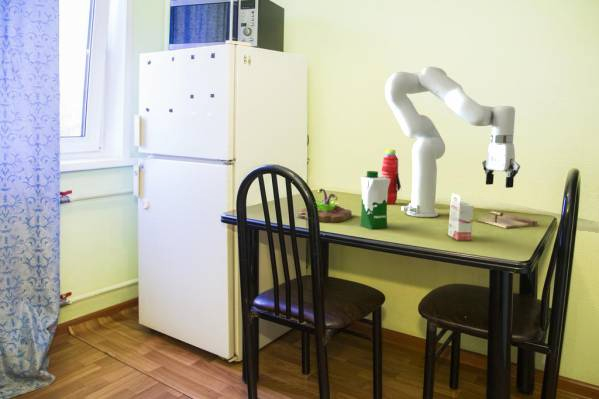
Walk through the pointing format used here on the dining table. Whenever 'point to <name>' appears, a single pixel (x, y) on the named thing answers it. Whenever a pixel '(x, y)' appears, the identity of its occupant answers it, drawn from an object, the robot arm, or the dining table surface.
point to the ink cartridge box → (460, 219)
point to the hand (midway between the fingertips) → (499, 185)
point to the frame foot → (521, 219)
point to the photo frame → (502, 220)
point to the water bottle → (391, 175)
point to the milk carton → (374, 200)
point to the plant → (329, 210)
